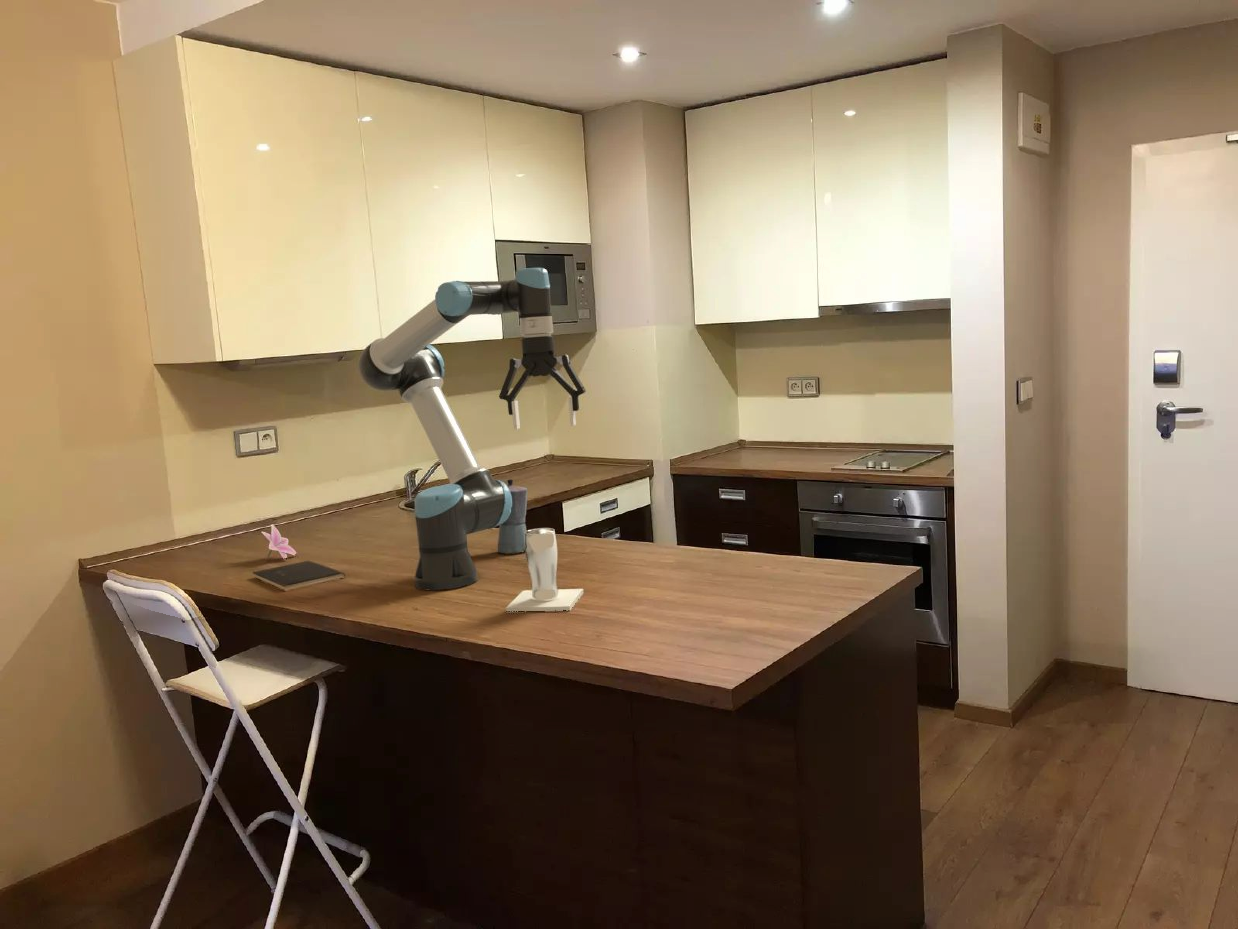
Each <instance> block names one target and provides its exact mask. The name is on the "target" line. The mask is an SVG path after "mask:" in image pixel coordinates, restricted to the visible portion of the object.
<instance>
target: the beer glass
mask: <svg viewBox="0 0 1238 929" xmlns="http://www.w3.org/2000/svg"><path fill="white" fill-rule="evenodd" d="M557 542H558V541H557V537H556V532H555V529H554V528H553V527H552V528H551V527H539V528H537V527H536V528H531V529H528V530H527V531H526V532H525V552H524V553H525V558H526V559H525V560H526V562H527V567H528V571H529V575H530V579H531V584H532V586H531V587H532V588H531V590H532V600H533V601H537V602H545V601H552V600H555V599H557V598H559V592H558V585H557V570H558V569H557V568H558V555H559V554H558V545H557V544H558V543H557Z"/></svg>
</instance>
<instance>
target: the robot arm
mask: <svg viewBox="0 0 1238 929" xmlns="http://www.w3.org/2000/svg"><path fill="white" fill-rule="evenodd" d="M434 297H435V299H433V300H432V301H430V302H429V303H428V304H427V305H426V306H424V307H423V308H422V309H420V310H419V311H418V312H416V313H415V314H414V315H413V316H412V317H410V318H408V319H407V320H406V321H405V322H404V323H402V324H401V325H400V326H398V327H397V328H396V329H394V330H393V331H392V332H390V333H389V334H388V335H387V336H385V337H384V338H383V337H381V338H377V339H375V340H374V341H372V342H370V343H369V344H368V345H367V346H365V348H364V349H363V350H362V352H361V353H360V355H359V359H358V364H357V365H358V372H359V375H360V377H361V379H362V380H363V382H364V383H365V384H366V385H368V386H369V387H371V388H373V389H375V390H378V391H384V392H385V391H395V390H397V391H398V393H399V395H400V397H401V399H402V402H406V403H408V404H411V406H412V408H413V410H414V412H415V414H416V416H417V419H418V420H419V422H420V425H421V427H422V428H423V430H424V433H425V434H426V436H427V439H428V440H429V442H430V444H431V446H432V448H433V450H434V452H435V455H436V456H437V459H438V460H439V462H440V465H441V467H442V469H443V471H444V472H445V474H446V477H447V478H448V481H449V484H447V483H446V484H441V485H438V486H436V485H435V486H432V487H429V488H426V489H424V490H422V491H420V492H419V493H417V494H416V495H415V498H414V501H413V502H414V510H413V512H414V516H415V517H414V518H415V525H416V533H417V544H418V554H419V555H418V561H417V565H416V570H415V573H414V586H416V587H417V588H416V587H415V588H416V589H418V588H420V589H419V590H422V589H429V590H428V591H443V590H442V589H447V590H453V589H459V588H463V587H466V586H465V585H467V586H469V585H472V584H474V583H476V582H477V581H478V580H477V579H478V578H479V576H478V570H477V568H476V565H475V563H474V560H473V558H472V556H471V553H470V552H469V549H468V548H469V547H468V541H467V540H468V539H467V535H469V534H474V533H478V532H481V531H482V532H483V531H485V530H491V529H494V528H496V527H498V526H500V525H501V524H503V523H504V522H505V521H506V520H507V519H508V517H509V515H510V513H511V507H512V496H511V493H510V490H509V488H508V487H507V486H508V484H506V483H505V482H504V481H502V480H500V479H494V478H493V476H492V474H491V472H490V470H489V469H488V468H484V467H481V465H480V463H479V461H478V459H477V458H476V455H475V454H474V452H473V450H472V447H471V446H470V444H469V441H468V440H467V438H466V436H465V434H464V432H463V430H462V428H461V425H460V424H459V422H458V420H457V418H456V416H455V414H454V412H453V410H452V408H451V406H450V404H449V402H448V400H447V398H446V396H445V394H444V393H443V391H442V390H443V389H442V388H443V385H444V379H443V378H444V376H445V371H446V370H445V369H444V367H445V362H444V360H443V357H442V354H441V353H440V352H439V351H438V349H437V348H436V347H434V346H433V345H431V343H433V342H435V341H436V340H437V339H438V338H439V337H441V336H442V335H443V334H445V333H447V332H448V331H449V330H451V329H452V328H453V327H455V326H456V325H457V324H459V323H461V322H462V321H463V320H464V319H466V318H467V317H469V316H472V315H473V316H474V315H492V316H493V315H494V316H495V315H499V316H500V315H502V314H509V313H518V314H519V326H520V329H519V330H520V335H521V336H523V338H522V339H521V352H522V358H521V359H517V358H510V359H509V368H508V372H507V374H506V377H505V380H504V381H503V382H504V383H503V385H502V388H501V390H500V393H499V394H498V397H499V399H500V400H504V401H506V402H507V410H508V415H509V416H512V420H513V430H519V429H521V424H520V423H521V422H520V421H521V420H520V411H519V400H516V397H517V396H518V395H519V393H520V392H521V390H522V389H523V388H524V386H525V384H526V383H527V381H529V379H530V378H531V377H534V378H535V377H546V376H547V377H548V376H549V375H550V376H551V377H552V378H553V379H555V381H556V382H557V383H558V384H559V385H560V386H561V388H563V389H564V390H565V391H566V392H567V393H568V394H569V395H570V397H568V400H567V401H568V411H569V412H568V414H569V424H570V427H574V426H576V425H577V419H576V412H578V411H579V410H580V404H579V402H580V401H579V396H581V395H583V394H585V393H586V392H587V391H586V388H585V387H584V384H583V382H582V381H581V380H580V377H579V376H578V375H577V373H576V371H575V369H574V368H573V366H572V364H571V359H570V356H569V355H568V354H564V355H560V356H557V355H556V350H555V349H556V348H555V337H554V336H553V335H552V334H553V333H554V326H553V323H554V322H553V315H552V303H551V302H552V301H551V284H550V279H549V273H548V270H547V269H545V268H544V267H529V268H528V267H527V268H520V269H518V270H516V272H515V279H510V280H500V281H499V280H498V281H494V280H491V281H490V280H488V281H481V280H480V281H461V280H453V281H447V282H442V283H441V284H440V285H439V286H438V287H437V291H436V292H435V296H434ZM558 363H559V364H560V365H561V366H563V368H564V370H565V372H566V374H567V375H568V377H569V378H570V379H569V380H571V382H572V384H573V385H574V387H575V388H576V389H575V388H574V387H573V386H572V385H571V383H569V381H568V380H567V379H565V378H564V376H563V375H562V374H560V372H559V370H558V369H557V368H555V367H556V365H557V364H558ZM521 365H522V367H523V369H525V370H524V371H523V373H522V374H521V377H519V380H518V381H517V382H516V384H515V385H514V386H513V388H512V390H511V387H512V384H513V382H514V379H515V376H516V374H517V371H518V369H519V368H520V366H521ZM509 392H510V393H509ZM462 586H463V587H462ZM439 589H441V590H439Z"/></svg>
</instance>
